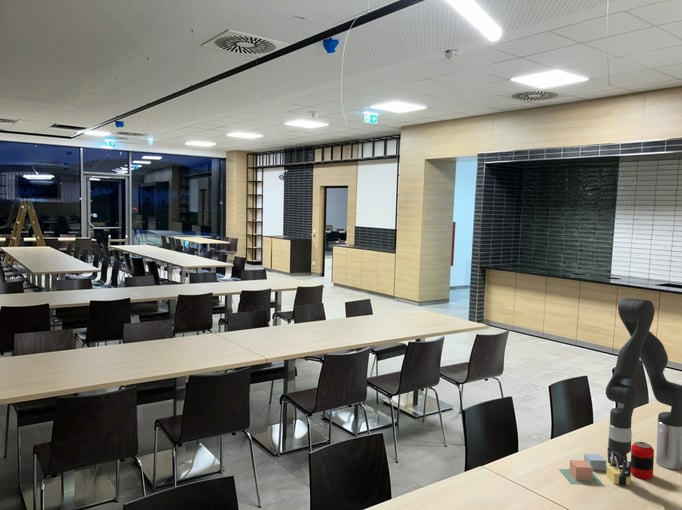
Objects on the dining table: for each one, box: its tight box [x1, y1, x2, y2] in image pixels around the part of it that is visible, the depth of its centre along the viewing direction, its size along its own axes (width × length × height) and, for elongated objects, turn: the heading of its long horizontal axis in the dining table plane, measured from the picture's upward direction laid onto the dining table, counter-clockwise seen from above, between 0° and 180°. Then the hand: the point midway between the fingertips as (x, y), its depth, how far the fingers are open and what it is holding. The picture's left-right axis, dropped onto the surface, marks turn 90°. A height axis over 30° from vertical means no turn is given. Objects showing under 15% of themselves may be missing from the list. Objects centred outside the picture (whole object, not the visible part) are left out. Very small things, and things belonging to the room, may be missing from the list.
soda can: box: [630, 441, 655, 480], centre depth 203 cm, size 8×8×12 cm
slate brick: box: [583, 453, 607, 471], centre depth 208 cm, size 6×6×5 cm
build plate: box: [558, 468, 605, 486], centre depth 199 cm, size 12×12×1 cm
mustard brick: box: [606, 465, 632, 486], centre depth 197 cm, size 6×6×5 cm
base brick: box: [569, 459, 594, 481], centre depth 199 cm, size 6×6×5 cm
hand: (618, 481), depth 197 cm, fingers closed on mustard brick, 6 cm apart
